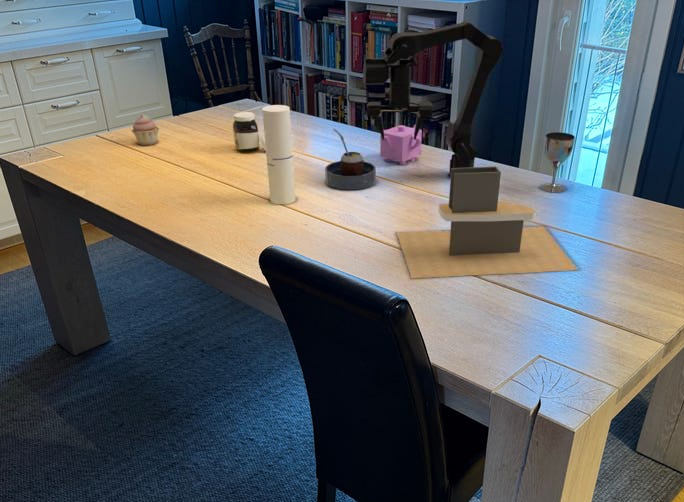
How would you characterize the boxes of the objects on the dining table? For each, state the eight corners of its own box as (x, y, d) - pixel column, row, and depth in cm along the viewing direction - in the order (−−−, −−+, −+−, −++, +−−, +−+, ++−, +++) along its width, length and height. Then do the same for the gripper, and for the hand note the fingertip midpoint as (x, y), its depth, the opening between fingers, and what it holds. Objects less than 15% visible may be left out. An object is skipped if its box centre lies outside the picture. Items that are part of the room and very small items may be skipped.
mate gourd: (367, 183, 201) (367, 131, 193) (342, 186, 199) (341, 134, 190) (358, 175, 207) (357, 125, 199) (334, 178, 205) (332, 128, 196)
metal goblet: (535, 190, 196) (542, 138, 188) (542, 181, 202) (550, 130, 194) (562, 194, 193) (571, 141, 185) (569, 186, 199) (577, 134, 191)
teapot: (423, 167, 214) (424, 132, 208) (381, 167, 214) (381, 132, 208) (418, 152, 227) (419, 119, 221) (378, 153, 226) (379, 120, 220)
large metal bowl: (385, 179, 204) (385, 166, 202) (355, 194, 194) (355, 179, 192) (346, 170, 212) (346, 157, 209) (315, 183, 202) (314, 169, 200)
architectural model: (543, 226, 174) (555, 149, 163) (578, 270, 153) (594, 185, 142) (396, 232, 171) (398, 155, 160) (411, 278, 150) (414, 192, 139)
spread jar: (232, 147, 233) (228, 112, 226) (264, 143, 237) (261, 108, 230) (242, 157, 224) (238, 121, 217) (275, 152, 228) (272, 116, 221)
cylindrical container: (291, 205, 188) (284, 112, 174) (266, 203, 189) (258, 111, 175) (298, 196, 193) (292, 105, 179) (274, 194, 195) (267, 104, 181)
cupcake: (133, 140, 240) (127, 111, 234) (160, 138, 242) (155, 109, 236) (134, 148, 232) (128, 118, 227) (162, 145, 235) (156, 116, 229)
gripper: (431, 77, 196) (429, 131, 204) (367, 77, 196) (367, 131, 205) (434, 85, 186) (431, 142, 195) (366, 85, 187) (366, 142, 196)
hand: (399, 139), depth 198 cm, fingers open, 9 cm apart
